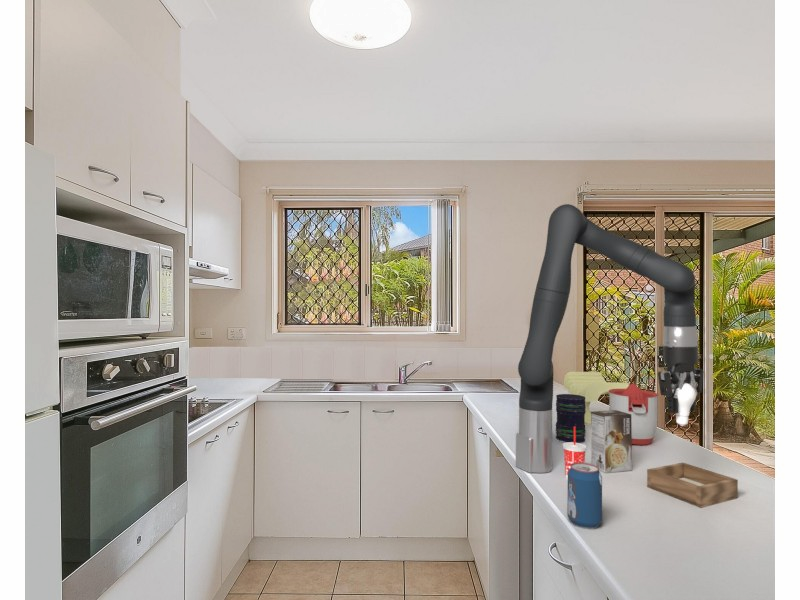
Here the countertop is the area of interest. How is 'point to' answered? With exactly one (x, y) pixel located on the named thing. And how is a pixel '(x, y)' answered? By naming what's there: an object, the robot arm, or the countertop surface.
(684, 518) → the countertop surface
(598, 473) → the soda can
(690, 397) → the lightbulb
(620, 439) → the coffee box
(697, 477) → the parts box
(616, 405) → the citrus juicer
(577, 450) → the beverage cup
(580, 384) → the hair dryer
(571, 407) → the storage jar
